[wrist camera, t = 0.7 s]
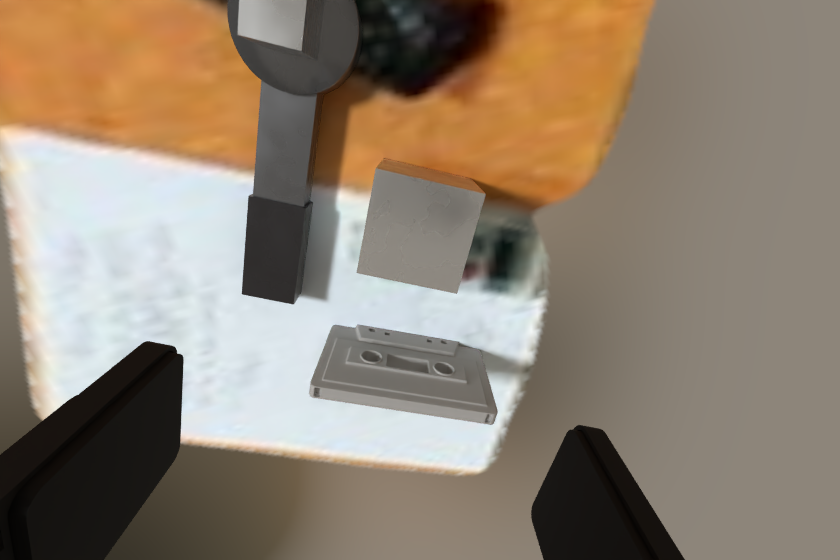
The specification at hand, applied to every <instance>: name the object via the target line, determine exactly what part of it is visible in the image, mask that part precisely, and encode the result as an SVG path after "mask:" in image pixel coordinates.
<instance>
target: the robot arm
mask: <svg viewBox="0 0 840 560" xmlns="http://www.w3.org/2000/svg"><path fill="white" fill-rule="evenodd" d="M182 383H183V356H182V355H181V354H177V350H176V348H175V347H174V346H170V345H165V344H160V343H155V342H150V341H147V342H144V343H142V344H141V345H140V346H138V347H137V348H136V349H135V350H133V351H132V352H131V353H130V354H128V355H127V356H126V357H125V358H123V359H122V360H121V361H120V362H119V363H117V364H116V365H115V366H114V367H112V368H111V369H110V370H109V371H107V372H106V373H105V374H104V375H102V376H101V377H100V378H99V379H97V380H96V381H95V382H94V383H92V384H91V385H90V386H89V387H87V388H86V389H85V390H84V391H82V392H81V393H80V394H79V395H76V396H75V397H73V398H71V399H70V400H68V401H67V402H66V403H65V404H63V405H62V406H61V407H60V408H58V409H57V410H56V411H54V412H53V413H52V414H51V415H49V416H48V417H47V418H46V419H44V420H43V421H42V422H41V423H39V424H38V425H37V426H36V427H35V428H33V429H32V430H31V431H29V432H28V433H27V434H26V435H24V436H23V437H22V438H21V439H19V440H18V441H17V442H16V443H14V444H13V445H12V446H11V447H9V449H7V450H6V451H4V452H3V453H2V454H1V455H0V560H104V559H105V557H106V556H107V555H108V553H109V552H110V550H111V549H112V547H113V546H114V545H115V543H116V542H117V540H118V539H119V538H120V536H121V535H122V533H123V532H124V531H125V529H126V528H127V526H128V525H129V523H130V522H131V521H132V519H133V518H134V517H135V515H136V514H137V512H138V511H139V510H140V508H141V507H142V505H143V504H144V503H145V501H146V500H147V498H148V497H149V496H150V494H151V493H152V491H153V490H154V488H155V487H156V486H157V484H158V483H159V481H160V480H161V479H162V477H163V476H164V474H165V473H166V472H167V470H168V469H169V467H170V466H171V465H172V463H173V462H174V460H175V458H176V456H177V454H178V451H179V447H180V434H181V409H182ZM531 513H532V514H531V515H532V522H533V526H534V529H535V532H536V536H537V539H538V542H539V546H540V549H541V552H542V555H543V559H544V560H685V559H684V558H683V556H682V555H681V553H680V551H679V550H678V548H677V547H676V545H675V543H674V542H673V540H672V539H671V537H670V535H669V534H668V532H667V531H666V529H665V527H664V526H663V524H662V523H661V521H660V519H659V518H658V516H657V515H656V513H655V511H654V510H653V508H652V507H651V505H650V504H649V502H648V500H647V499H646V497H645V496H644V494H643V492H642V491H641V489H640V488H639V486H638V484H637V483H636V481H635V480H634V478H633V477H632V475H631V473H630V472H629V470H628V468H627V467H626V465H625V464H624V462H623V460H622V459H621V457H620V456H619V454H618V452H617V451H616V449H615V448H614V446H613V444H612V443H611V441H610V440H609V438H608V436H607V435H606V433H605V432H604V431H603V430H601V429H598V428H593V427H587V426H582V425H578V426H576V427H575V428H574V429H573V430H569V431H568V432H567V434H566V436H565V438H564V440H563V442H562V444H561V446H560V448H559V450H558V452H557V455H556V457H555V459H554V461H553V463H552V465H551V467H550V469H549V472H548V473H547V476H546V478H545V480H544V482H543V484H542V486H541V488H540V490H539V492H538V495H537V497H536V499H535V501H534V503H533V506H532V511H531Z"/></svg>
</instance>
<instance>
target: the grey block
mask: <svg viewBox="0 0 840 560" xmlns="http://www.w3.org/2000/svg"><path fill="white" fill-rule="evenodd" d="M485 195H486V194H485V193H484V192H483V191H482V190H481V189H480V187H479V186H478V185H477V184H476V183H475V182H474V181H473V180H472V179H471V178H467V177H462V176H458V175H454V174H450V173H446V172H441V171H437V170H433V169H429V168H424V167H420V166H416V165H412V164H408V163H403V162H399V161H395V160H391V159H387V158H383V160H382V161H381V162H380V164H379V165H378V166H377V167H376V170H375V176H374V181H373V187H372V192H371V198H370V203H369V208H368V214H367V219H366V225H365V230H364V236H363V241H362V247H361V252H360V257H359V263H358V268H357V273H359V274H364V275H369V276H374V277H379V278H384V279H388V280H393V281H398V282H403V283H408V284H413V285H417V286H422V287H427V288H432V289H437V290H442V291H447V292H451V293H456V294H457V292H458V288H459V285H460V281H461V278H462V275H463V271H464V268H465V264H466V261H467V257H468V254H469V250H470V247H471V244H472V240H473V237H474V233H475V230H476V226H477V223H478V219H479V216H480V213H481V209H482V206H483V202H484V199H485Z"/></svg>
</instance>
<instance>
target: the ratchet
mask: <svg viewBox="0 0 840 560" xmlns="http://www.w3.org/2000/svg"><path fill="white" fill-rule="evenodd" d="M228 22H229V28H230V32H231V36H232V39H233V41H234V44H235V46H236V48H237V50H238V53H239V54H240V56H241V58H242V59H243V61H244V62H245V64H246V65H247V66H248V67H249V69H250V70H251V71H252V72H253V73H254V74H255V75H256V76H257V77H258V78H260V79H261V80H262V81H261V95H260V108H259V122H258V135H257V149H256V163H255V176H254V190H253V194H252V195H250V196H249V198H248V213H247V227H246V242H245V256H244V270H243V285H242V294H243V295H248V296H253V297H258V298H264V299H269V300H274V301H279V302H284V303H289V304H294V303H295V302H296V300H297V298H298V297H299V295H300V294H301V289H302V281H303V273H304V266H305V258H306V250H307V243H308V235H309V227H310V219H311V212H312V204H313V202H310V196H311V188H312V181H313V173H314V165H315V157H316V149H317V141H318V133H319V125H320V118H321V110H322V102H323V94H326V93H329V92H331V91H333V90H335V89H336V88H338V87H339V86H341V85H342V84H343V83H344V82H345V81H346V80H347V79H348V78H349V77H350V75H351V74H352V72H353V71H354V69H355V67H356V65H357V63H358V60H359V57H360V54H361V49H362V41H363V28H362V21H361V16H360V12H359V9H358V7H357V4H356V2H355V0H228Z"/></svg>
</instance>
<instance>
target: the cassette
mask: <svg viewBox="0 0 840 560" xmlns="http://www.w3.org/2000/svg"><path fill="white" fill-rule="evenodd" d="M309 395H310V396H311V397H312V398H320V399H326V400H333V401H339V402H346V403H352V404H359V405H366V406H372V407H379V408H385V409H392V410H398V411H405V412H411V413H418V414H424V415H431V416H438V417H444V418H451V419H457V420H464V421H470V422H477V423H483V424H489V425H492V424H493V423H494V421H495V418H496V415H497V412H498V411H497V407H496V404H495V400H494V397H493V393H492V390H491V386H490V383H489V379H488V376H487V372H486V369H485V365H484V362H483V358H482V355H481V352H480V350H478V349H475V348H469V347H463V346H459V342H456V341H450V340H444V339H439V338H433V337H427V336H421V335H415V334H409V333H403V332H398V331H392V330H386V329H380V328H374V327H368V326H363V325H357V326H356V327H355V328H352V327H346V326H340V325H334V326H332V328H331V330H330V333H329V335H328V338H327V340H326V344H325V346H324V349H323V351H322V354H321V356H320V359H319V362H318V364H317V367H316V369H315V372H314V374H313V377H312V380H311V384H310V392H309Z"/></svg>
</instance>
